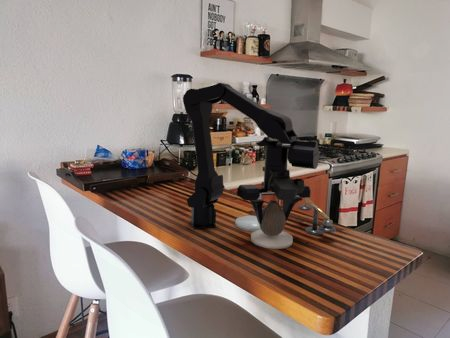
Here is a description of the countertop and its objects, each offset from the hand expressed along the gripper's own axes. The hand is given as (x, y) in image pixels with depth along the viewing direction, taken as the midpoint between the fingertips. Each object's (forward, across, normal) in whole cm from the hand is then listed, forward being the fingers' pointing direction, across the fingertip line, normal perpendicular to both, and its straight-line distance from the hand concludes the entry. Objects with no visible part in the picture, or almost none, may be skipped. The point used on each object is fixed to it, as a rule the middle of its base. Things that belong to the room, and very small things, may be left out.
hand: (272, 222), depth 89 cm
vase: (+3, 0, 0) cm, 3 cm away
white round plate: (+5, 0, +12) cm, 13 cm away
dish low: (+5, 0, 0) cm, 5 cm away
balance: (+5, +15, +3) cm, 16 cm away
